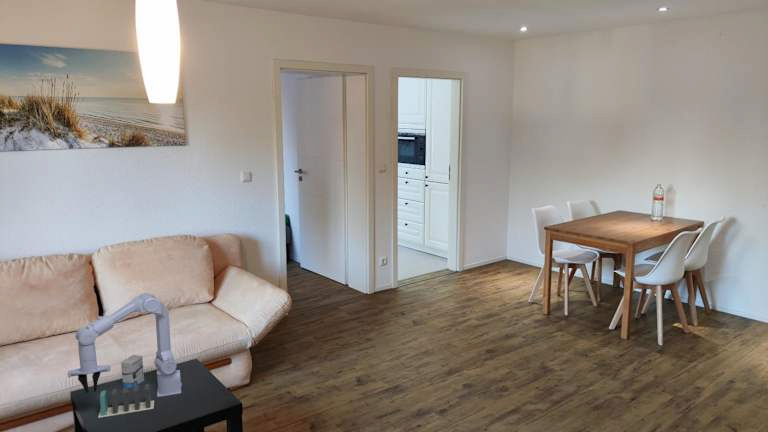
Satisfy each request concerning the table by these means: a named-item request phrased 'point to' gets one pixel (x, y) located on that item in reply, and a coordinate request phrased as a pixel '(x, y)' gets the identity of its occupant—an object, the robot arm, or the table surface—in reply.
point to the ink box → (132, 371)
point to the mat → (131, 409)
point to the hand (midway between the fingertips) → (91, 391)
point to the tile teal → (103, 403)
